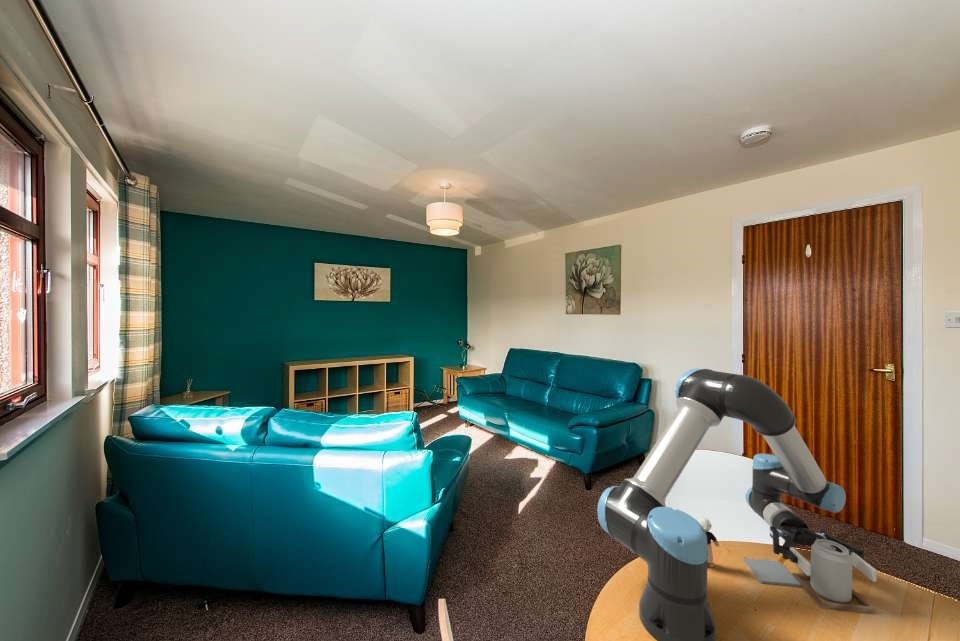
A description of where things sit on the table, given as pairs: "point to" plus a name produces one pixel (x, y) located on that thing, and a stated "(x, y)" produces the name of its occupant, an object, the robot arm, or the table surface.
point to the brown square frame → (829, 605)
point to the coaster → (771, 572)
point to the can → (831, 570)
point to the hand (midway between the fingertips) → (841, 572)
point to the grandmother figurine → (708, 539)
